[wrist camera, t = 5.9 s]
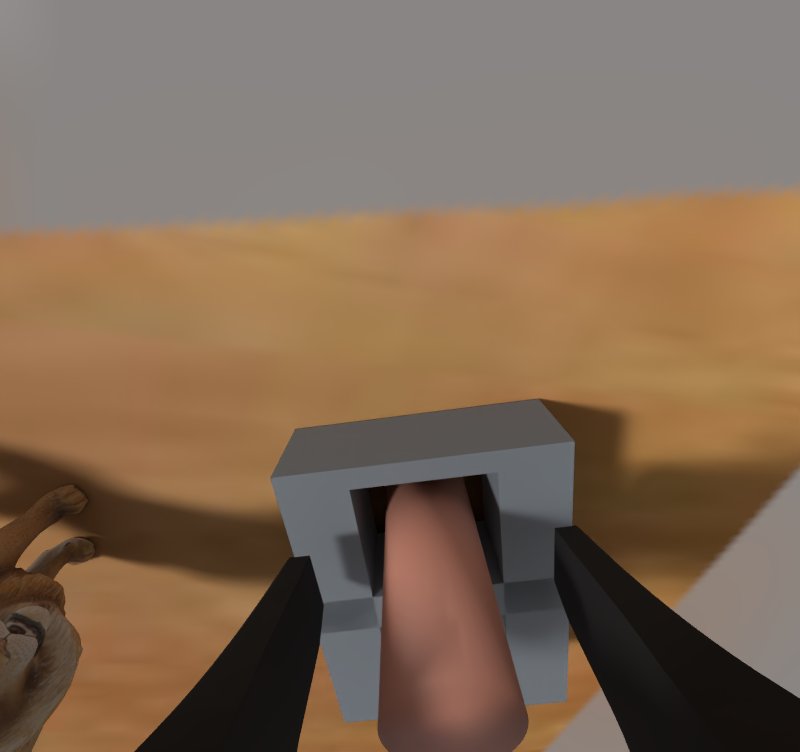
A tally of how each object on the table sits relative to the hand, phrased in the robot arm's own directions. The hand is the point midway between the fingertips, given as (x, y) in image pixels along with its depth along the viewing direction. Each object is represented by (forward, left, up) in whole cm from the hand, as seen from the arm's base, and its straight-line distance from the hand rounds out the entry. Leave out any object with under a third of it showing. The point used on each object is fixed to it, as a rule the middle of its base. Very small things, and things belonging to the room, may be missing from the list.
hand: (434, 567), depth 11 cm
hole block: (-3, 0, -4) cm, 5 cm away
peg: (0, 0, -4) cm, 4 cm away
